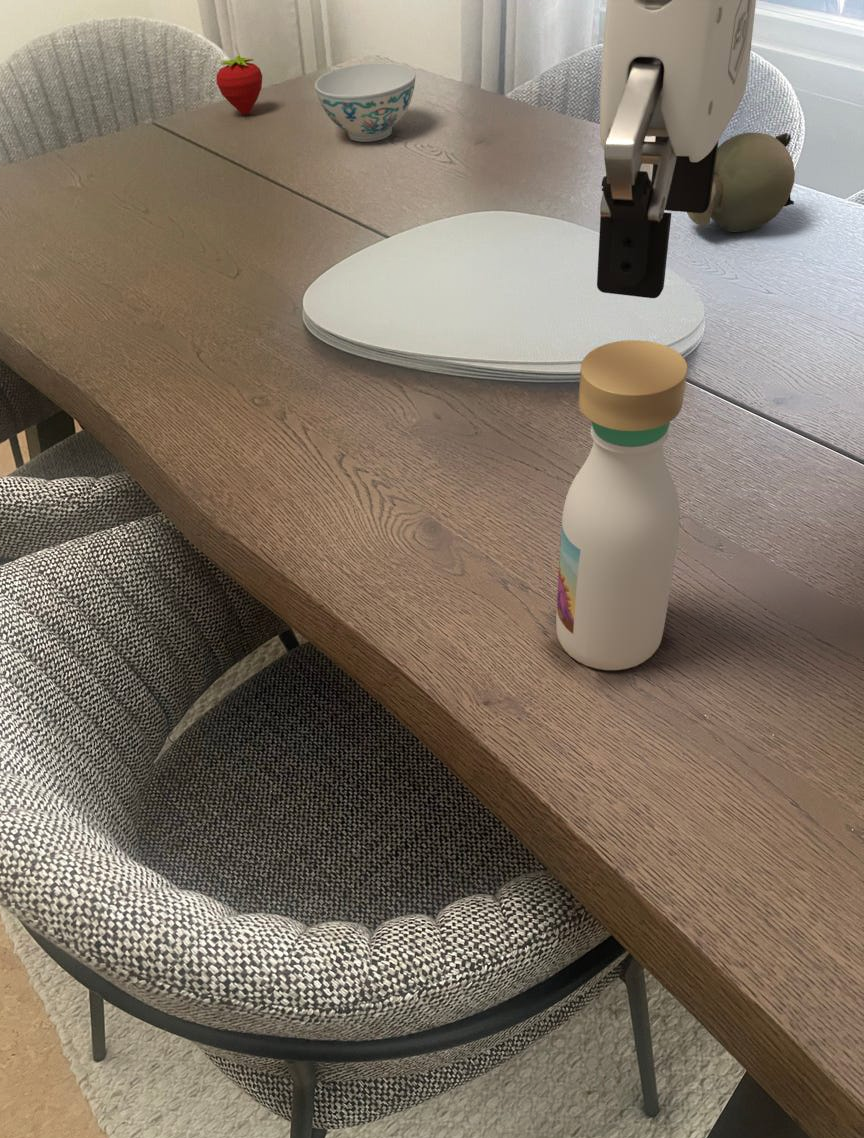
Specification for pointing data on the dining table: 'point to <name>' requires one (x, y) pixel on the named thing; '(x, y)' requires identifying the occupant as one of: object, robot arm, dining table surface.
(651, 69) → the robot arm
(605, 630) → the milk bottle
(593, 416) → the tan short cylinder
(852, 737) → the dining table surface
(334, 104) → the chinaware
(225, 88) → the strawberry
